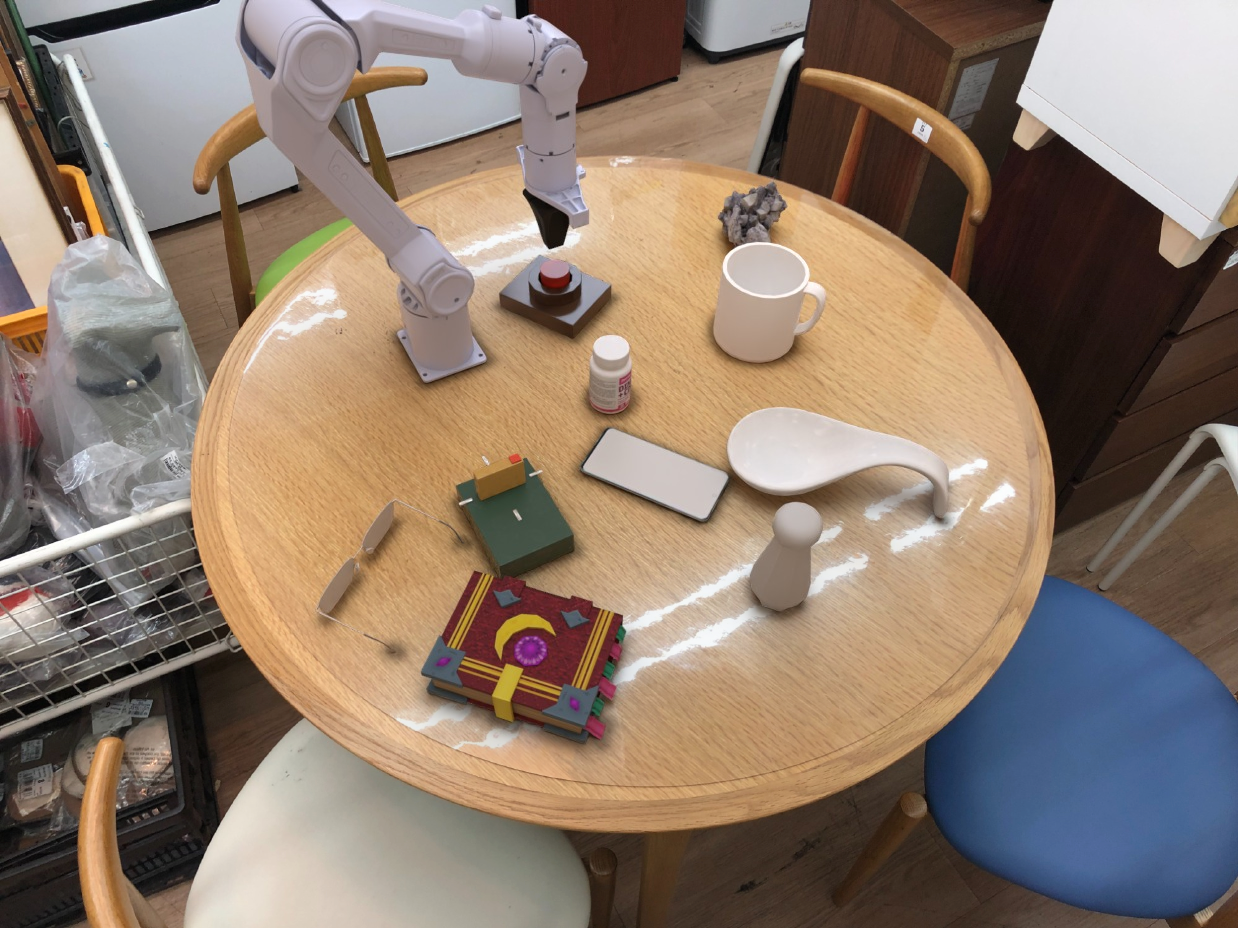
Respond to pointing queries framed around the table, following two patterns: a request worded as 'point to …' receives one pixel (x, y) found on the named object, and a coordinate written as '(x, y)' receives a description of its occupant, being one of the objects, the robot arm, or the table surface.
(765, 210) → the mineral specimen
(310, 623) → the table surface
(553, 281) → the button
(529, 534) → the dark green flat block
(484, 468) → the red-dot tan block
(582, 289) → the dark button base
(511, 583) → the decorative book
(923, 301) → the table surface
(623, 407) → the pill bottle
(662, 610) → the table surface
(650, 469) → the smartphone
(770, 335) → the mug
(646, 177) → the table surface
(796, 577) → the salt shaker
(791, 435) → the spoon rest
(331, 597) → the eyeglasses
